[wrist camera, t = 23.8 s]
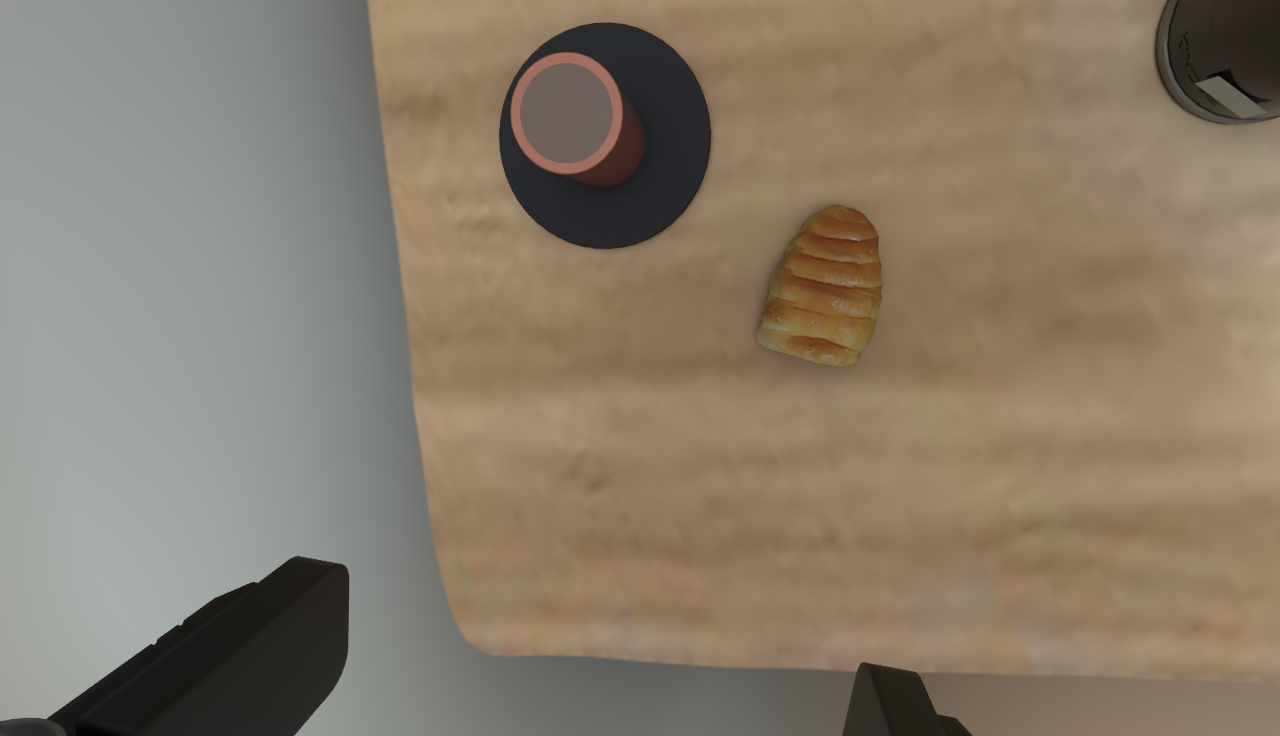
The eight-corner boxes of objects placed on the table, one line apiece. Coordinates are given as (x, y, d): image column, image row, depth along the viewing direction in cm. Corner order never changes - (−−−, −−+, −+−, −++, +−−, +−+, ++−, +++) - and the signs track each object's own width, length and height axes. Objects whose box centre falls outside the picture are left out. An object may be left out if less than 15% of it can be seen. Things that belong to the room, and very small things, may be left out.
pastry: (787, 196, 38) (795, 192, 35) (899, 218, 38) (919, 217, 34) (751, 345, 40) (754, 357, 37) (856, 368, 40) (871, 382, 36)
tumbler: (613, 74, 37) (580, 26, 29) (662, 154, 38) (645, 130, 29) (541, 128, 38) (487, 98, 30) (589, 205, 39) (551, 196, 30)
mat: (634, -22, 37) (633, -28, 36) (751, 171, 38) (752, 170, 37) (463, 112, 40) (458, 109, 39) (577, 287, 41) (575, 288, 40)
